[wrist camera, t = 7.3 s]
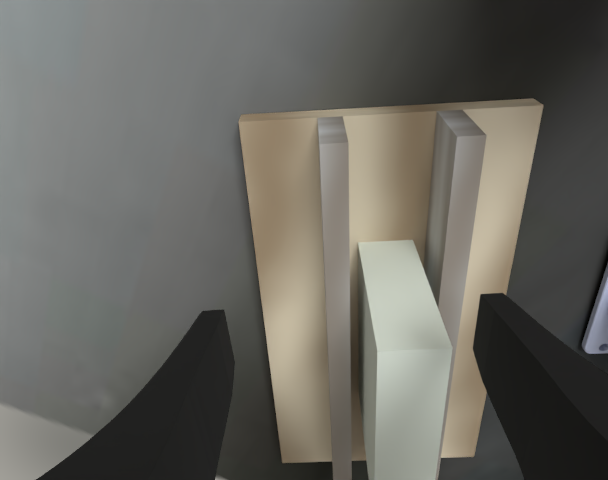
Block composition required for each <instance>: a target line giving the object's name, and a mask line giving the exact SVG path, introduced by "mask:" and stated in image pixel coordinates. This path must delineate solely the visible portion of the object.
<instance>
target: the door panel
mask: <svg viewBox="0 0 608 480" xmlns="http://www.w3.org/2000/svg"><path fill="white" fill-rule="evenodd" d="M452 349H453V348H452V345H451V342H450V340H449V337H448V334H447V331H446V329H445V326H444V323H443V321H442V318H441V315H440V312H439V310H438V307H437V304H436V301H435V299H434V296H433V293H432V291H431V288H430V285H429V282H428V280H427V277H426V274H425V271H424V269H423V266H422V263H421V261H420V258H419V255H418V252H417V250H416V247H415V244H414V241H413V240H398V241H378V242H358V391H359V402H360V410H361V418H362V427H363V435H364V444H365V452H366V460H367V469H368V477H369V480H435V478H436V471H437V463H438V455H439V448H440V440H441V433H442V425H443V417H444V410H445V402H446V395H447V387H448V380H449V372H450V364H451V357H452Z"/></svg>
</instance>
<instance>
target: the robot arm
mask: <svg viewBox="0 0 608 480" xmlns="http://www.w3.org/2000/svg"><path fill="white" fill-rule="evenodd" d="M602 344H603V345H602ZM600 345H601V346H600ZM582 347H583V349H584V350H585V352H586V353H588V354H602V353H608V263H607V267H606V270H605V273H604V276H603V279H602V282H601V285H600V289H599V292H598V295H597V298H596V301H595V304H594V307H593V310H592V314H591V317H590V320H589V323H588V326H587V329H586V332H585V335H584V339H583V342H582ZM473 352H474V355H475V359H476V362H477V366H478V369H479V372H480V375H481V378H482V382H483V384H484V386H485V389H486V391H487V393H488V395H489V398H490V400H491V402H492V404H493V407H494V409H495V411H496V413H497V415H498V418H499V420H500V422H501V424H502V426H503V429H504V431H505V433H506V435H507V438H508V440H509V442H510V444H511V446H512V449H513V451H514V453H515V455H516V458H517V460H518V463H519V465H520V468H521V470H522V473H523V476H524V479H525V480H608V374H606V373H605V372H603V371H602V370H600V369H599V368H597V367H596V366H594V365H593V364H591V363H590V362H589V361H587V360H586V359H584V358H583V357H582V356H580V355H579V354H577V353H576V352H575V351H573V350H572V349H571V348H569V347H568V346H567V345H565V344H564V343H563V342H562V341H560V340H559V339H558V338H556V337H555V336H554V335H553V334H551V333H550V332H549V331H548V330H546V329H545V328H544V327H543V326H542V325H540V324H539V323H538V322H537V321H536V320H534V319H533V318H532V317H531V316H530V315H528V314H527V313H526V312H525V311H524V310H523V309H521V308H520V307H519V306H518V305H517V304H516V303H514V302H513V301H512V300H511V299H510V298H508V297H507V296H506V295H505V294H504V293H491V294H480V301H479V308H478V315H477V322H476V329H475V335H474V342H473ZM234 364H235V361H234V356H233V351H232V346H231V342H230V337H229V332H228V327H227V322H226V317H225V312H224V310H210V311H202V312H201V313H200V315H199V316H198V317H197V319H196V320H195V322H194V323H193V325H192V326H191V328H190V329H189V330H188V332H187V333H186V335H185V336H184V338H183V339H182V340H181V342H180V343H179V344H178V346H177V347H176V348H175V350H174V351H173V352H172V354H171V355H170V356H169V358H168V359H167V360H166V362H165V363H164V364H163V365H162V367H161V368H160V369H159V370H158V371H157V373H156V374H155V375H154V376H153V377H152V378H151V380H150V381H149V382H148V383H147V384H146V385H145V387H144V388H143V389H142V390H141V391H140V392H139V393H138V394H137V395H136V397H135V398H134V399H133V400H132V401H131V402H130V403H129V404H128V405H127V406H126V407H125V408H124V409H123V410H122V411H121V412H120V413H119V414H118V415H117V416H116V417H115V418H114V419H113V420H111V421H110V422H109V423H108V424H107V425H106V426H105V427H104V428H102V429H101V430H100V431H99V432H98V433H97V434H96V435H94V436H93V437H92V438H91V439H90V440H89V441H88V442H86V443H85V444H84V445H83V446H81V447H80V448H79V449H77V450H76V451H75V452H74V453H72V454H71V455H70V456H69V457H67V458H66V459H65V460H63V461H62V462H60V463H59V464H58V465H56V466H55V467H54V468H52V469H51V470H49V471H48V472H47V473H45V474H44V475H43V476H41V477H39V478H38V479H36V480H215V476H216V470H217V465H218V460H219V455H220V450H221V446H222V441H223V436H224V431H225V427H226V422H227V417H228V412H229V407H230V402H231V397H232V389H233V378H234Z"/></svg>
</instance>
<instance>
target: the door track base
mask: <svg viewBox="0 0 608 480" xmlns="http://www.w3.org/2000/svg"><path fill="white" fill-rule="evenodd" d="M542 110H543V105H542V104H541V103H539V102H538V101H537V100H535V99H534V98H531V99H513V100H495V101H477V102H459V103H441V104H423V105H405V106H387V107H369V108H351V109H333V110H315V111H297V112H279V113H261V114H243V115H241V117H240V119H239V130H240V138H241V145H242V153H243V161H244V169H245V176H246V184H247V192H248V200H249V208H250V215H251V223H252V231H253V239H254V246H255V254H256V262H257V270H258V278H259V285H260V293H261V301H262V309H263V316H264V324H265V332H266V340H267V348H268V355H269V363H270V371H271V379H272V387H273V394H274V402H275V410H276V418H277V425H278V433H279V441H280V449H281V457H282V463H299V462H329V461H332V467H333V480H352V461H359V460H366V452H365V444H364V435H363V427H362V418H361V410H360V402H359V391H358V242H378V241H398V240H413V241H414V244H415V247H416V250H417V252H418V255H419V258H420V261H421V263H422V266H423V269H424V271H425V274H426V277H427V280H428V282H429V285H430V288H431V291H432V293H433V296H434V299H435V301H436V304H437V307H438V310H439V312H440V315H441V318H442V321H443V323H444V326H445V329H446V331H447V334H448V337H449V340H450V342H451V345H452V348H453V349H452V357H451V364H450V372H449V380H448V387H447V395H446V402H445V410H444V417H443V425H442V433H441V440H440V448H439V455H438V463H437V471H436V478H435V480H438V474H439V467H440V460H441V458H448V457H474V454H475V449H476V444H477V439H478V434H479V429H480V424H481V419H482V414H483V408H484V403H485V398H486V393H487V391H486V389H485V386H484V384H483V382H482V378H481V375H480V372H479V369H478V366H477V362H476V359H475V355H474V352H473V342H474V335H475V329H476V322H477V315H478V308H479V301H480V294H491V293H504V294H505V295H506V292H507V287H508V282H509V277H510V272H511V267H512V262H513V257H514V252H515V247H516V242H517V237H518V232H519V227H520V222H521V217H522V211H523V206H524V201H525V196H526V191H527V186H528V181H529V176H530V171H531V166H532V161H533V156H534V151H535V146H536V141H537V136H538V131H539V126H540V121H541V116H542Z"/></svg>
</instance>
